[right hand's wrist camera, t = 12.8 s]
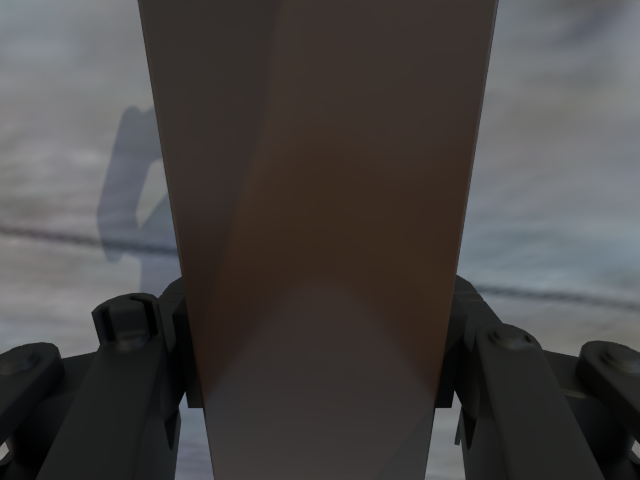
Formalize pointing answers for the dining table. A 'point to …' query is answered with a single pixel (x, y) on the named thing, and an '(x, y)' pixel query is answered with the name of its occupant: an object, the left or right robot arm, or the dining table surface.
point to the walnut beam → (318, 218)
